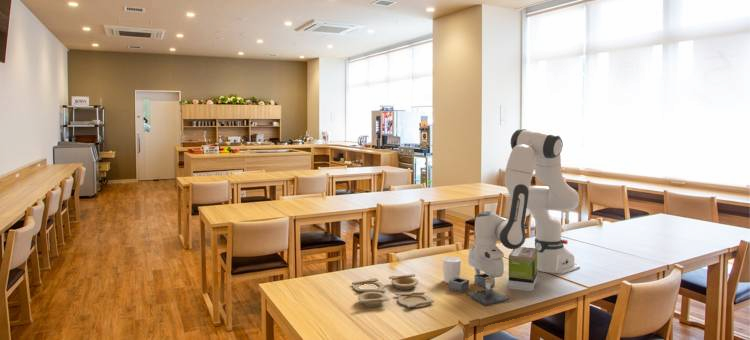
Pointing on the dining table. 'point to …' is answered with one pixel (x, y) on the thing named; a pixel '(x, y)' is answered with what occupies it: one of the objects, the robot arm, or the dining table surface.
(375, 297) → the tableware set
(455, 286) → the link
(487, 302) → the post
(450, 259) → the white cup
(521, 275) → the tea box
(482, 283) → the link
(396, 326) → the dining table surface
